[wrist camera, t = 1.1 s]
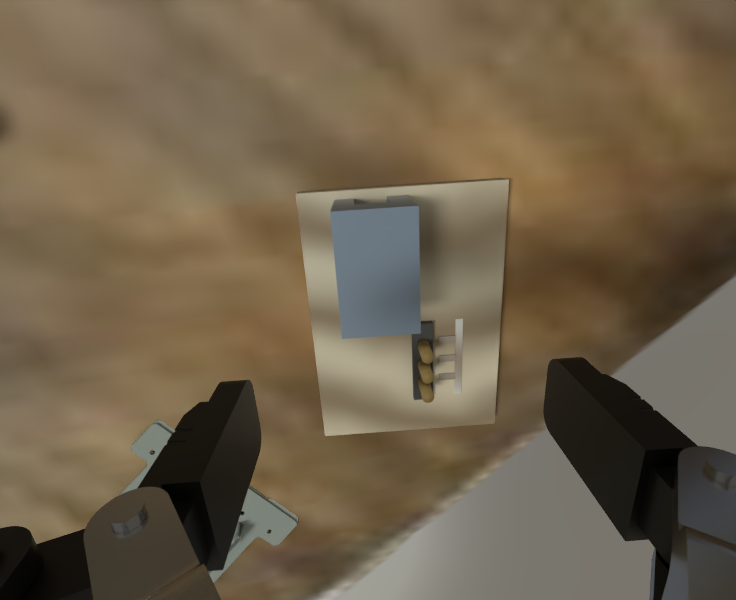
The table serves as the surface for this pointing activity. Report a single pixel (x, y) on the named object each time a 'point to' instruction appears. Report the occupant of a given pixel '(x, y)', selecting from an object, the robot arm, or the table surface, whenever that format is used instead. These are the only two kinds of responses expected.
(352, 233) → the block
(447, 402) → the board
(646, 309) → the table surface
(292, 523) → the metal bracket
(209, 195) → the table surface
